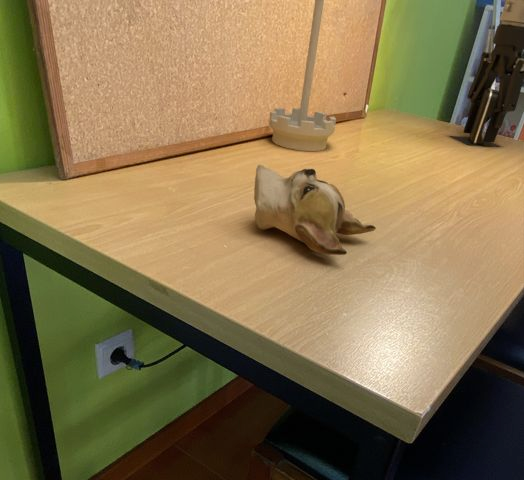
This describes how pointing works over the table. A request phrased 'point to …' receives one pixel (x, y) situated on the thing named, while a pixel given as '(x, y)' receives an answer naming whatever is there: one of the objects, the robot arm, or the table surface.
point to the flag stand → (304, 107)
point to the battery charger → (483, 114)
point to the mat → (468, 142)
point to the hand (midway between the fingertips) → (478, 137)
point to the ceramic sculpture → (304, 209)
